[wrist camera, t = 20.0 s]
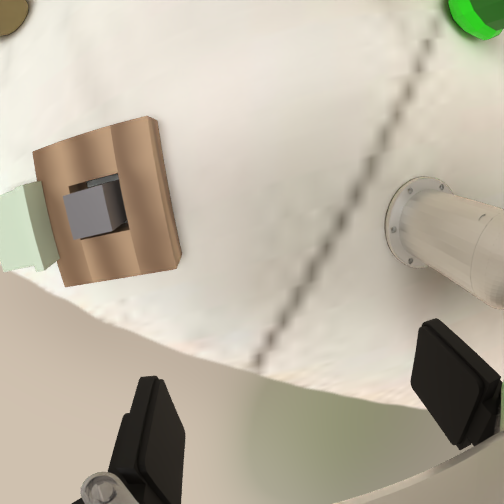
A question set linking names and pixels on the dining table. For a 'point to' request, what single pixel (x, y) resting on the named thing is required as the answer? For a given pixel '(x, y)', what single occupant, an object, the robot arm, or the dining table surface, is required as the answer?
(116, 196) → the plug
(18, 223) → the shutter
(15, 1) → the squeeze bottle
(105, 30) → the dining table surface
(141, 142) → the socket
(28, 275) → the dining table surface
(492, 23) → the plastic bottle
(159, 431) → the robot arm
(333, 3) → the dining table surface
